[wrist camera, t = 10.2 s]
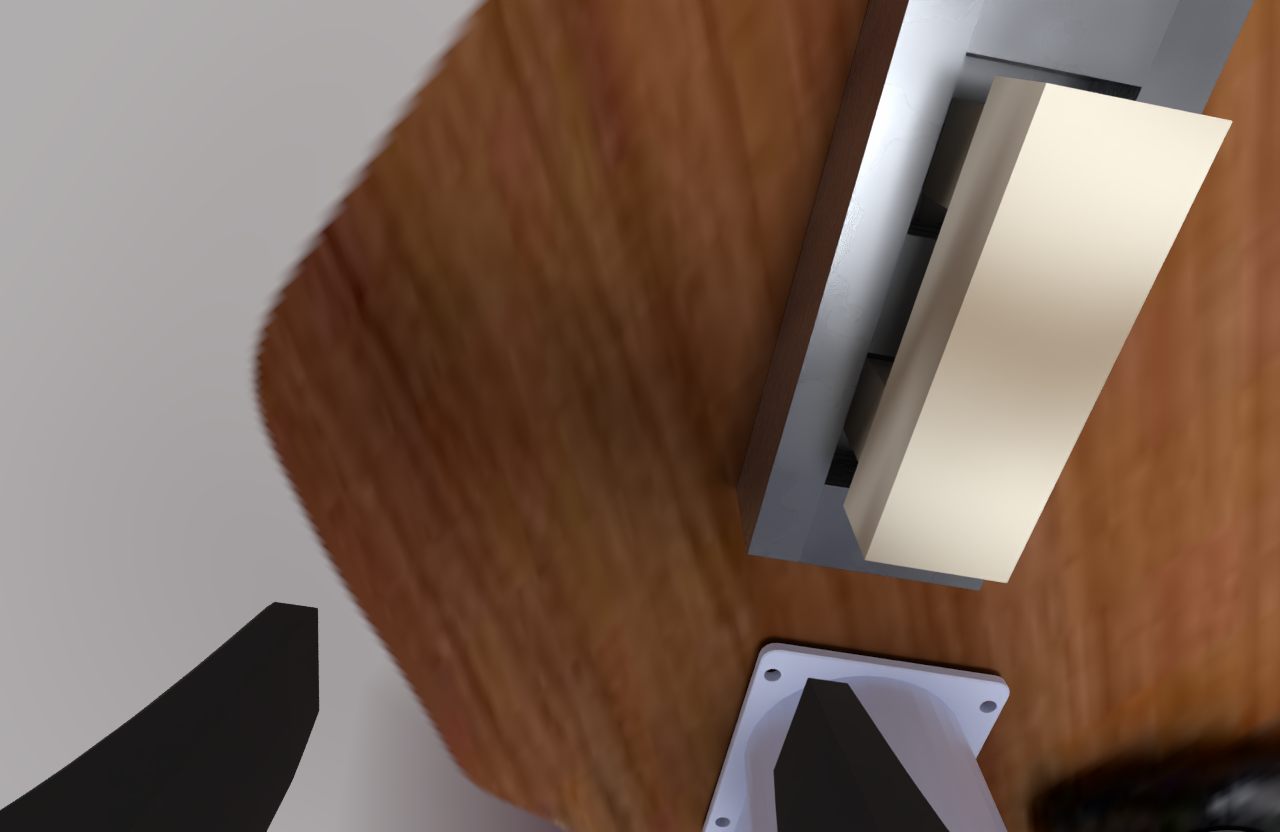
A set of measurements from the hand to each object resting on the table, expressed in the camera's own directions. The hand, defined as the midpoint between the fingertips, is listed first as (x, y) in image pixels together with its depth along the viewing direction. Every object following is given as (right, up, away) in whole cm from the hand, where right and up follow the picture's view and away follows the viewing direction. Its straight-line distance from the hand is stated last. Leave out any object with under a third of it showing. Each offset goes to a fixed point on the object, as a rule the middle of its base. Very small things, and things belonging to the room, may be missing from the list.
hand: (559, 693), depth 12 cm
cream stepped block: (+8, +7, +7) cm, 13 cm away
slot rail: (+8, +8, +8) cm, 14 cm away
